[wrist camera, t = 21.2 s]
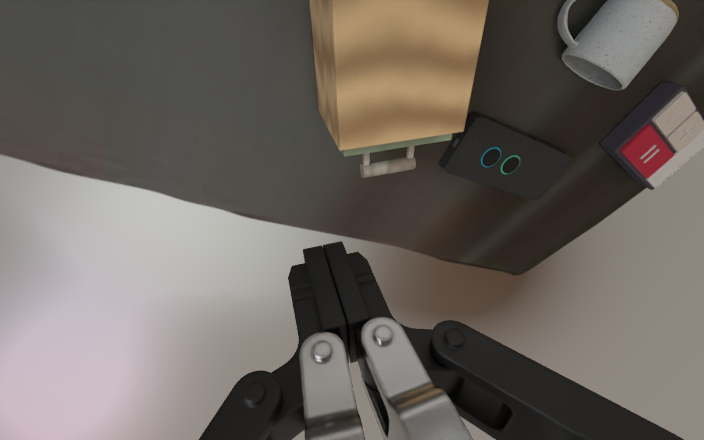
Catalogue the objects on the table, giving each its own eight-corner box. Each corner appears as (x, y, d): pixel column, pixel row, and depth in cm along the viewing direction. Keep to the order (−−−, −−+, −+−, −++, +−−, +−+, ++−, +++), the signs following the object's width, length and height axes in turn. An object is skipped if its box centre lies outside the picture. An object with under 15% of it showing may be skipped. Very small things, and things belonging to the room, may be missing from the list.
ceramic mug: (634, 16, 41) (700, 27, 35) (580, 80, 44) (632, 100, 38) (591, -41, 36) (661, -40, 30) (534, 36, 39) (586, 51, 33)
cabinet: (422, 98, 40) (463, 131, 33) (319, 112, 38) (339, 151, 31) (438, -53, 31) (499, -52, 24) (305, -48, 29) (329, -45, 22)
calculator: (690, 86, 45) (720, 138, 53) (659, 77, 49) (692, 128, 56) (618, 154, 50) (656, 193, 57) (595, 141, 53) (633, 180, 60)
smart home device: (479, 114, 41) (575, 157, 50) (471, 109, 43) (566, 152, 52) (442, 172, 45) (537, 202, 54) (436, 166, 47) (530, 196, 56)
